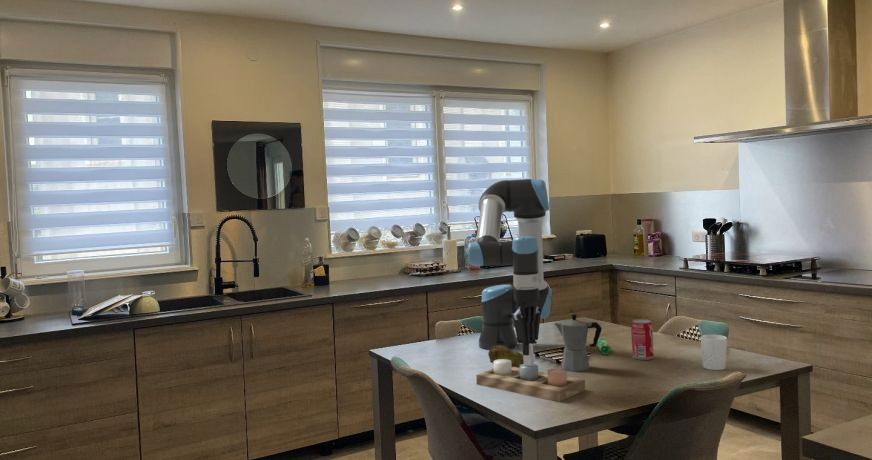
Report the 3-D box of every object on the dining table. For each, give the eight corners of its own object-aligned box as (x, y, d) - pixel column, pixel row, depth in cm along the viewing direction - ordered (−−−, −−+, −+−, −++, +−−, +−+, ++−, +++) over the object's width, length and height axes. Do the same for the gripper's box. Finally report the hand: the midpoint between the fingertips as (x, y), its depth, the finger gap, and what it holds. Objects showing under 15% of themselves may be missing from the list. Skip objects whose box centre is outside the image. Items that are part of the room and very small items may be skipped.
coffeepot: (552, 370, 219) (551, 316, 218) (558, 363, 228) (557, 311, 227) (600, 373, 213) (599, 317, 212) (604, 366, 222) (603, 312, 221)
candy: (594, 344, 249) (600, 335, 249) (602, 349, 249) (608, 340, 249) (598, 352, 237) (604, 343, 237) (606, 357, 237) (613, 348, 237)
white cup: (715, 372, 210) (715, 340, 209) (695, 366, 217) (695, 336, 216) (732, 368, 213) (732, 337, 213) (712, 363, 220) (712, 333, 220)
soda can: (654, 360, 226) (654, 322, 226) (632, 360, 228) (632, 322, 227) (652, 355, 233) (651, 318, 233) (631, 355, 235) (630, 318, 234)
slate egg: (516, 382, 201) (515, 366, 201) (527, 378, 205) (526, 362, 205) (531, 385, 197) (531, 369, 197) (542, 381, 202) (541, 365, 201)
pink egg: (544, 388, 194) (543, 371, 194) (554, 384, 199) (554, 367, 198) (560, 391, 191) (560, 374, 190) (570, 387, 195) (570, 370, 194)
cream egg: (490, 377, 208) (489, 362, 208) (501, 373, 212) (500, 358, 212) (504, 380, 204) (504, 364, 204) (515, 376, 208) (514, 360, 208)
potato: (528, 371, 219) (527, 347, 219) (489, 372, 219) (488, 348, 219) (525, 364, 227) (524, 341, 227) (487, 366, 228) (487, 343, 227)
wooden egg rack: (476, 384, 207) (476, 374, 206) (503, 374, 217) (503, 365, 217) (559, 401, 186) (559, 391, 186) (585, 389, 196) (584, 379, 196)
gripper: (523, 291, 193) (526, 371, 194) (548, 285, 202) (551, 362, 203) (503, 289, 198) (505, 367, 199) (528, 284, 207) (530, 359, 208)
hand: (528, 365), depth 201 cm, fingers closed
